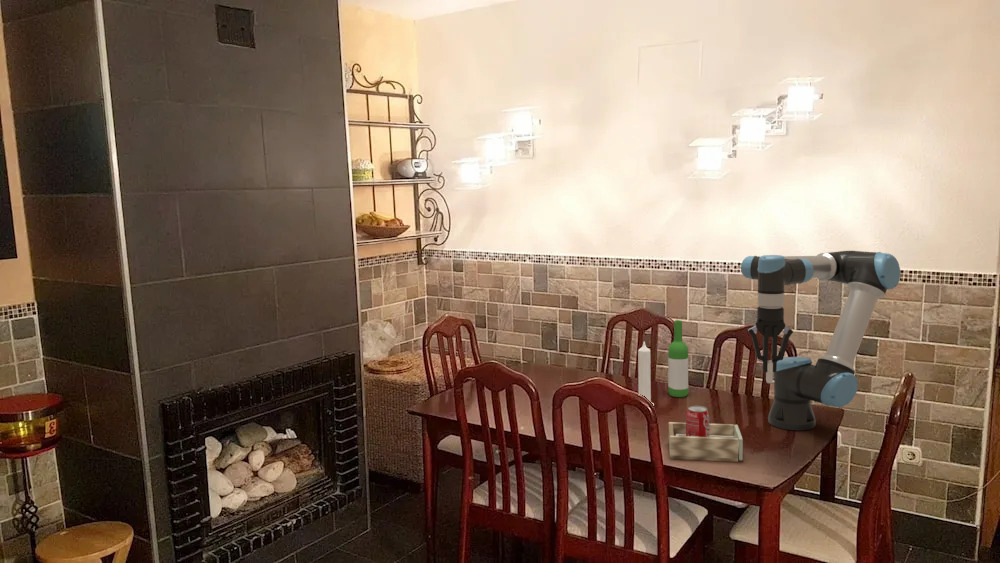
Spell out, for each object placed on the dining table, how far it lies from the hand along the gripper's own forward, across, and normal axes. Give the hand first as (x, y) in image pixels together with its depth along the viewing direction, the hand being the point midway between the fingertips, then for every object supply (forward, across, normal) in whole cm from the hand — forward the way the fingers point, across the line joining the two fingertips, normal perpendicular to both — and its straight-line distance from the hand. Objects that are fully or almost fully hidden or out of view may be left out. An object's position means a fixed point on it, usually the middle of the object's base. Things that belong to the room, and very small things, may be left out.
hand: (769, 382), depth 218 cm
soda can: (+21, +21, +2) cm, 30 cm away
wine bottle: (+23, +25, -58) cm, 67 cm away
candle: (+23, +38, -43) cm, 62 cm away
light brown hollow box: (+22, +20, +2) cm, 30 cm away
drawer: (+22, +18, +2) cm, 29 cm away
